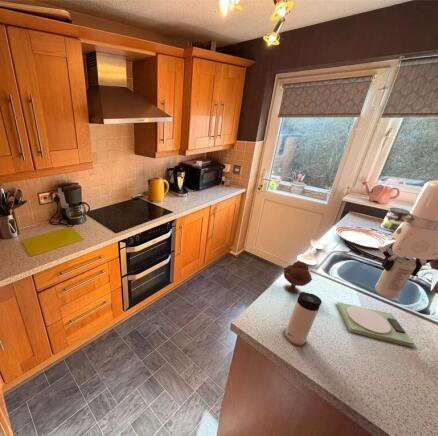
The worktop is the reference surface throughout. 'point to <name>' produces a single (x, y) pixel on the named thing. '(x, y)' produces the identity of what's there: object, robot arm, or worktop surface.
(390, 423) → the worktop surface
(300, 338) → the travel mug
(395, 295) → the energy drink can
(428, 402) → the worktop surface
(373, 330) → the kitchen scale
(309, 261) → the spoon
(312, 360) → the worktop surface
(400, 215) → the glass jar
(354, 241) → the dinner plate
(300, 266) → the ice cream bowl
